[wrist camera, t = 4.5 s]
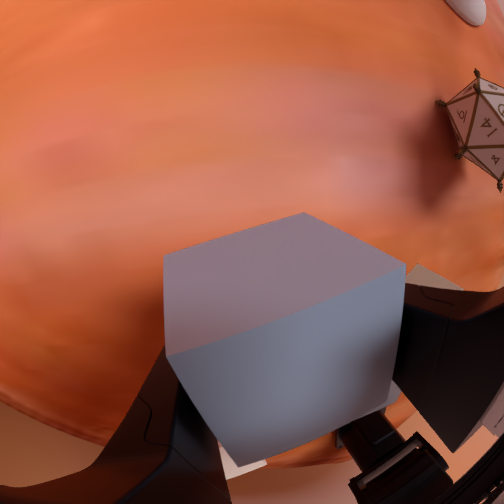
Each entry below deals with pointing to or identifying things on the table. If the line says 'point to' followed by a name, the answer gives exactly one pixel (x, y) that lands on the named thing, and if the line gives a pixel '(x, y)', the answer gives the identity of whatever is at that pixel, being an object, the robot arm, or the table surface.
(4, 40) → the table surface
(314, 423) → the slate blue cube
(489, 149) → the game die
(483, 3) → the candlestick
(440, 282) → the sage cube
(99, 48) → the table surface
